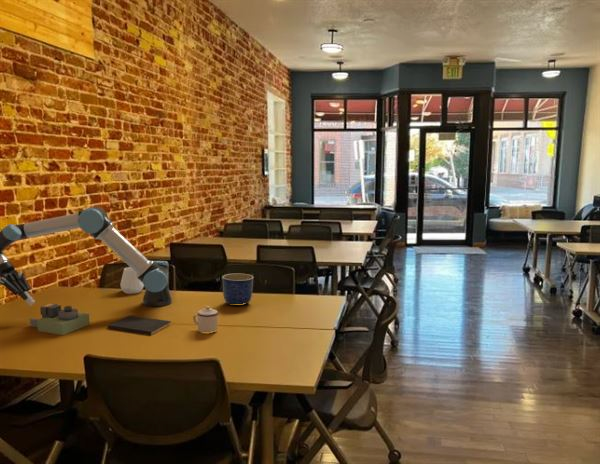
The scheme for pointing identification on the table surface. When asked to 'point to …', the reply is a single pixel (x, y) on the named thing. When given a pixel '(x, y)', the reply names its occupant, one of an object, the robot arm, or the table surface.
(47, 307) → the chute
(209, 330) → the teacup with lid
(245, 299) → the planter
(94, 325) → the table surface
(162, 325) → the hardcover book
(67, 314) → the flat slab with knob
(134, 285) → the cup
